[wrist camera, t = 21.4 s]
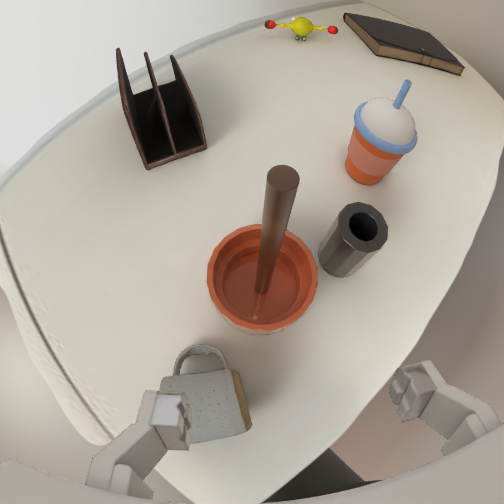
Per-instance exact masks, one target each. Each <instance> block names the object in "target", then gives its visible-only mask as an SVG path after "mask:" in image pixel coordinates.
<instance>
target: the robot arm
mask: <svg viewBox="0 0 504 504" xmlns="http://www.w3.org/2000/svg"><path fill="white" fill-rule="evenodd" d="M394 375H395V377H396V378H395V379H394V380H393V381H392V382H391V384H390V388H389V391H390V392H389V394H390V398H391V400H392V402H393V403H394V404H396V405H398V407H397V413H398V415H399V417H400V419H401V421H402V422H405V421H409V420H412V419H415V418H418V417H419V418H420V419H421V420H422V421H424V422H425V423H426V424H427V425H429V426H430V427H431V428H433V429H434V430H436V431H437V432H438V433H440V434H441V435H442V436H444V437H445V438H447V439H448V441H447V442H446V444H445V445H444V446H443V447H442V449H441V451H442V453H443V455H444V457H442V458H440V459H438V460H435V461H434V462H431V463H428V464H426V465H424V466H421V467H419V468H416V469H414V470H411V471H409V472H406V473H403V474H401V475H398V476H395V477H392V478H389V479H386V480H383V481H379V482H376V483H373V484H369V485H366V486H362V487H359V488H355V489H351V490H347V491H342V492H338V493H333V494H328V495H323V496H318V497H312V498H306V499H299V500H292V501H283V502H274V503H261V504H504V423H503V424H502V423H501V421H500V420H499V418H498V417H497V415H496V413H495V412H494V410H493V409H492V407H491V406H490V404H488V403H486V402H484V401H482V400H480V399H478V398H476V397H474V396H472V395H470V394H468V393H466V392H464V391H462V390H460V389H458V388H456V387H454V386H452V385H447V384H446V382H445V381H444V379H443V378H442V376H441V375H440V373H439V372H438V370H437V369H436V368H435V366H434V365H433V363H432V362H431V361H430V360H426V361H423V362H419V363H415V364H411V365H408V366H404V367H400V368H398V369H397V370H396V372H395V374H394ZM191 426H192V413H191V408H190V405H189V404H188V403H187V396H186V393H185V392H166V391H150V390H146V391H145V392H144V394H143V398H142V401H141V405H140V409H139V413H138V416H137V420H136V424H131V425H130V426H129V427H128V428H126V429H125V430H124V431H123V432H122V433H121V434H120V435H118V436H117V437H116V438H115V439H114V440H113V441H111V442H110V443H109V444H108V445H107V446H106V447H105V448H103V449H102V450H101V451H100V452H99V453H97V454H96V455H95V456H94V457H93V458H92V461H91V465H90V469H89V472H88V475H87V479H86V482H85V485H83V484H80V483H76V482H73V481H70V480H66V479H64V478H61V477H58V476H55V475H52V474H50V473H47V472H45V471H42V470H40V469H37V468H35V467H32V466H30V465H28V464H26V463H24V462H21V461H19V460H16V459H13V458H10V459H8V460H5V461H3V462H1V463H0V504H189V503H177V502H167V501H159V500H153V491H152V489H151V488H150V487H149V486H148V485H147V484H146V483H145V482H144V481H143V480H144V478H145V477H146V476H147V475H148V474H149V473H150V471H151V470H152V469H153V468H154V467H155V466H156V464H157V463H158V462H159V461H160V460H161V458H162V457H163V456H164V455H165V453H166V452H167V450H189V447H190V437H191V436H190V434H189V431H188V430H189V429H190V428H191Z"/></svg>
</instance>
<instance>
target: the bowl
mask: <svg viewBox="0 0 504 504" xmlns="http://www.w3.org/2000/svg"><path fill="white" fill-rule="evenodd" d="M261 228H262V224H254V225H250V226H246V227H242V228H239V229H237V230H236V231H234V232H232V233H231V234H229V235H227V236H226V237H225V238H224V239H223V240H222V241H221V242H220V243H219V245H218V246H217V247H216V248H215V249H214V251H213V253H212V256H211V258H210V261H209V263H208V269H207V285H208V289H209V292H210V296H211V299H212V301H213V302H214V304H215V306H216V308H217V309H218V311H219V312H220V314H221V315H222V317H223V318H224V320H225V321H227V322H228V323H229V324H231V325H232V326H233V327H234V328H236V329H237V330H240V331H243V332H246V333H249V334H251V335H269V334H272V333H275V332H278V331H282V330H283V329H285V328H286V327H288V326H289V325H290V324H292V323H293V322H294V321H296V320H297V319H298V318H299V317H301V316H302V315H303V314H304V312H305V311H306V310H307V308H308V307H309V305H310V304H311V302H312V301H313V299H314V295H315V292H316V288H317V284H318V279H317V266H316V264H315V261H314V258H313V256H312V253H311V251H310V250H309V249H308V248H307V246H306V245H305V244H304V243H303V241H302V240H301V239H300V238H298V237H297V236H296V235H294V234H293V233H291V232H290V231H288V230H286V231H285V235H284V238H283V241H282V245H281V248H280V252H279V255H278V259H277V262H276V265H275V269H274V272H273V275H272V279H271V282H270V285H269V289H268V291H267V292H266V293H265V294H259V293H257V292H256V290H255V282H256V273H257V264H258V255H259V246H260V237H261Z"/></svg>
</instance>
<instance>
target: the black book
mask: <svg viewBox="0 0 504 504" xmlns="http://www.w3.org/2000/svg"><path fill="white" fill-rule="evenodd" d="M343 19H344V21H345V22H346V23H347V24H348V25H349V26H350V27H351V29H352V30H353V31H354V32H355V33H356V34H357V35H358V36H359V37H360V38H361V39H362V40H363V41H364V42H365V43H366V45H367V46H368V47H369V48H370V49H371V50H372V51H373V52H374V54H375V55H376V56H382V57H388V58H394V59H399V60H404V61H408V62H413V63H417V64H419V65H420V64H421V65H425V66H428V67H433V68H437V69H440V70H444V71H447V72H450V73H454V74H457V75H460V76H461V73H462V72H463V69H464V68H465V67H464V66H463V65H462V64H461V63H460V62H459V61H458V60H457V58H456V57H455V56H454V55H453V54H452V53H451V52H450V51H448V50H447V49H446V48H445V47H444V46H443V45H442V44H441V43H440V42H439V41H438V40H437V39H435V38H434V37H433V36H432V35H431V34H430V33H428V32H426V31H423V30H419V29H416V28H413V27H409V26H406V25H402V24H398V23H394V22H390V21H386V20H382V19H377V18H373V17H368V16H362V15H357V14H351V13H344V15H343Z"/></svg>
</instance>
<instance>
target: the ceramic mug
mask: <svg viewBox="0 0 504 504" xmlns="http://www.w3.org/2000/svg"><path fill="white" fill-rule="evenodd" d="M196 354H207V355H210V354H214V355H216V356H217V357H218V358H220V359H221V361H222V363H223V366H224V370H216V371H210V372H205V373H197V374H187V375H179V373H180V368H181V365H182V363H183V361H184V360H185V359H186V358H187V357H188V356H191V355H196ZM160 391H166V392H185V393H186V396H187V403H188V404H189V405H190V408H191V413H192V426H191V428H190V429H189V430H188V431H189V434H190V436H191V437H190V444H193V443H200V442H206V441H211V440H215V439H220V438H226V437H231V436H235V435H238V434H241V433H244V432H246V431H248V430H249V429H250V428H251V426H252V423H251V419H250V415H249V411H248V407H247V403H246V399H245V396H244V392H243V388H242V384H241V380H240V375H239V373H238V372H236V371H234V370H229V369H228V365H227V362H226V360H225V358H224V356H223V354H222V353H221V352H220V351H219V350H218V349H216V348H215V347H212V346H210V345H204V344H199V345H193V346H189V347H187V348H186V349H184V350H183V351H182V352H181V353H180V354H179V356H178V358H177V359H176V362H175V365H174V372H173V376H168V377H164V378H163V379H162V381H161V384H160Z"/></svg>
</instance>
